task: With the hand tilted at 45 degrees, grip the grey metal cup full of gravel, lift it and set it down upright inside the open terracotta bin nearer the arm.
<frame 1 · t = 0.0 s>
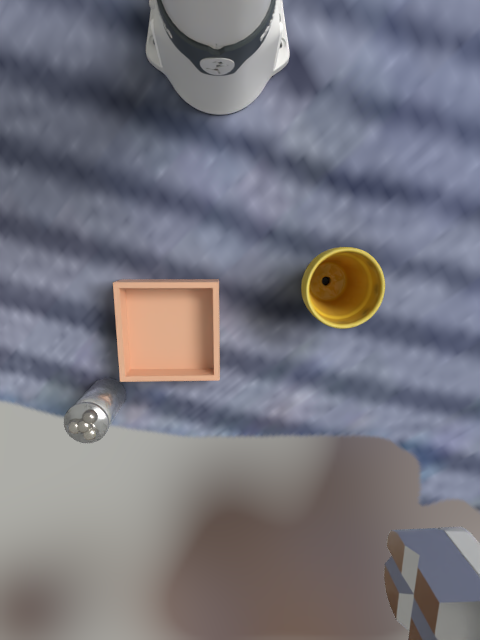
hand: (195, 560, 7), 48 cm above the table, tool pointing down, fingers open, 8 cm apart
gravel cup: (108, 394, 57), on the table
plant pot: (324, 280, 55), on the table
terracotta bin: (172, 326, 55), on the table
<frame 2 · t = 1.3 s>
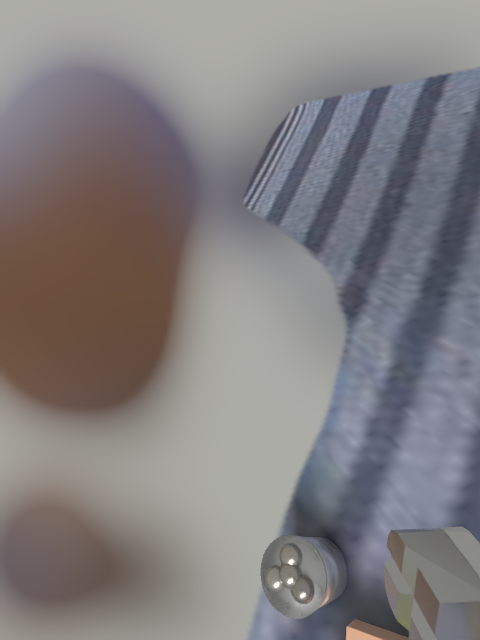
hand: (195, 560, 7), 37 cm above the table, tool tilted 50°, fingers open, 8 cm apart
gravel cup: (321, 568, 38), on the table
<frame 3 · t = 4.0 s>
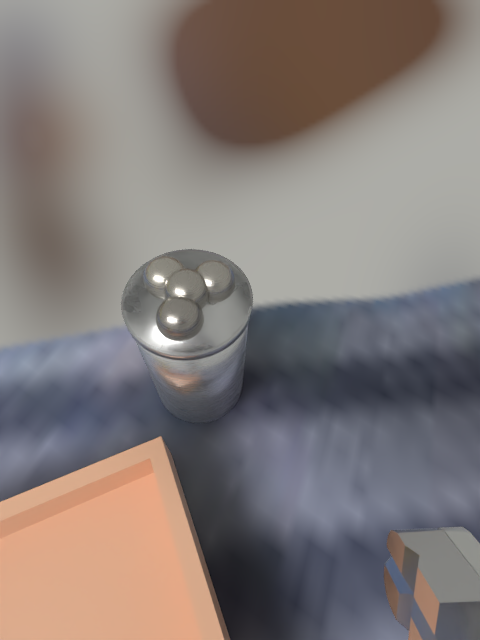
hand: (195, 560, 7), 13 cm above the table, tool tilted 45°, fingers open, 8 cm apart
gravel cup: (200, 381, 24), on the table
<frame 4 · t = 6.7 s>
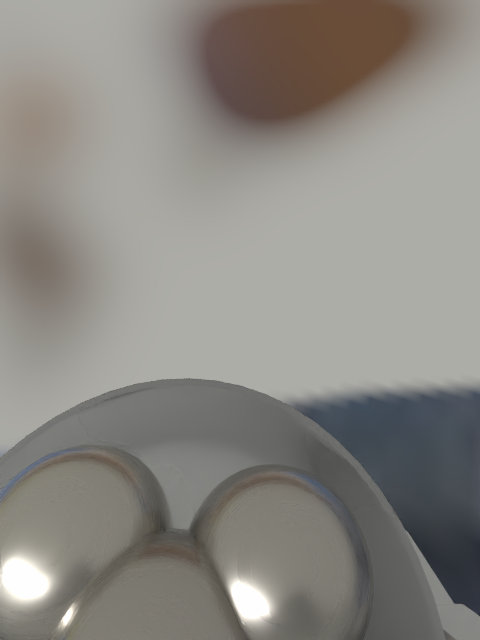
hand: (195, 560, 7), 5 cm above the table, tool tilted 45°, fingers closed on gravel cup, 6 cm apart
gravel cup: (207, 580, 12), on the table, touching gripper
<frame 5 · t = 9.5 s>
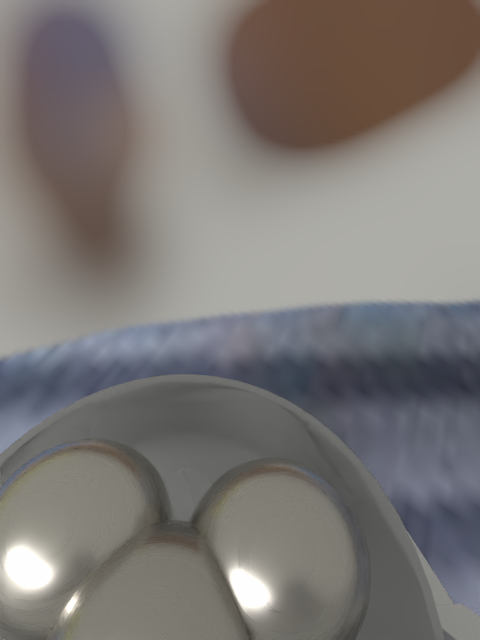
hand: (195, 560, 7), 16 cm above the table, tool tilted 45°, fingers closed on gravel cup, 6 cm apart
gravel cup: (207, 576, 12), point 10 cm above the table, touching gripper
when the fingers open (8 cm above the table, at t = 12.2 s): gravel cup drops 1 cm, resting on terracotta bin.
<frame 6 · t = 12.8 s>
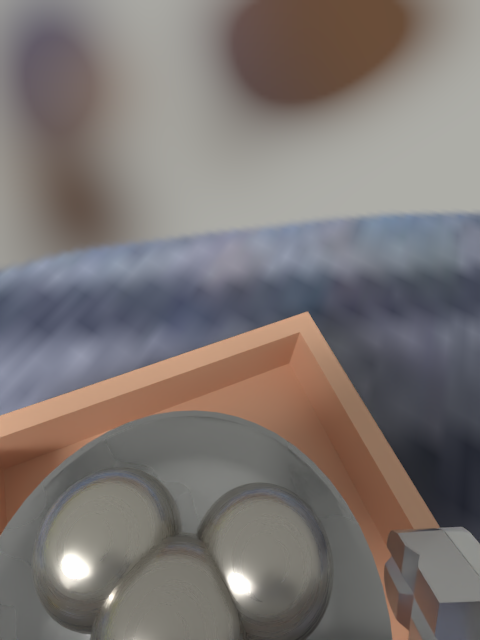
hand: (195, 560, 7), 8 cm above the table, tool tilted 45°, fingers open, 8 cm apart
gravel cup: (208, 576, 13), point 1 cm above the table, touching terracotta bin
terracotta bin: (210, 574, 14), on the table
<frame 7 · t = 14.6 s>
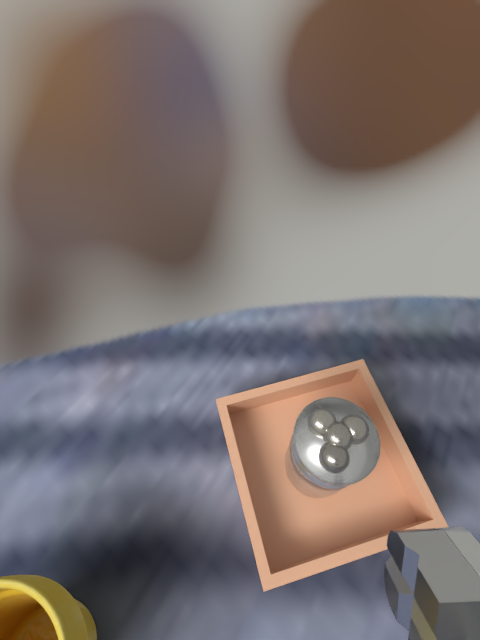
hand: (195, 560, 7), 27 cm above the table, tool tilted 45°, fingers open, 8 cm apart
gravel cup: (315, 464, 32), point 1 cm above the table, touching terracotta bin
terracotta bin: (314, 466, 33), on the table
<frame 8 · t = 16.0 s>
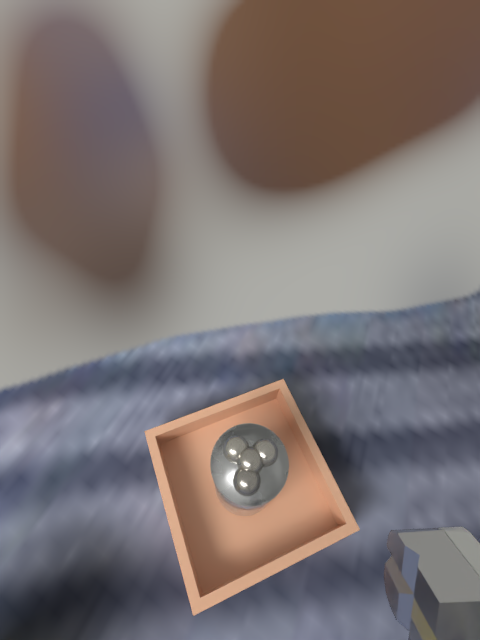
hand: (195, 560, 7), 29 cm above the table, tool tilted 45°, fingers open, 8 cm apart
gravel cup: (244, 483, 34), point 1 cm above the table, touching terracotta bin
terracotta bin: (243, 484, 35), on the table
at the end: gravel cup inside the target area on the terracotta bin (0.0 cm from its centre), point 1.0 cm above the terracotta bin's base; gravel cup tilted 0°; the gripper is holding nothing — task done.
